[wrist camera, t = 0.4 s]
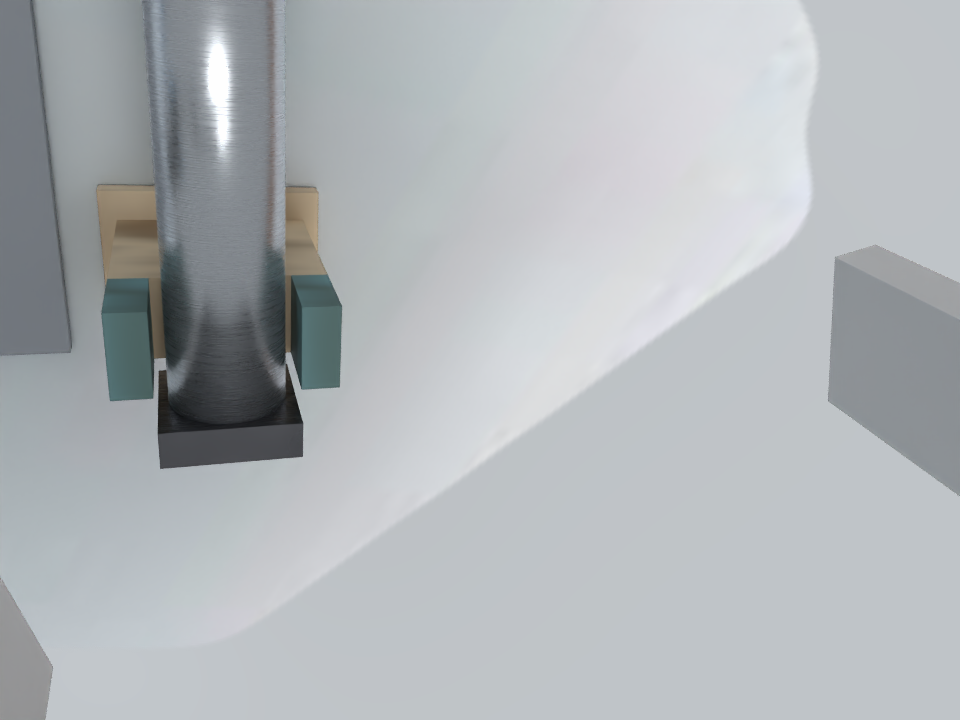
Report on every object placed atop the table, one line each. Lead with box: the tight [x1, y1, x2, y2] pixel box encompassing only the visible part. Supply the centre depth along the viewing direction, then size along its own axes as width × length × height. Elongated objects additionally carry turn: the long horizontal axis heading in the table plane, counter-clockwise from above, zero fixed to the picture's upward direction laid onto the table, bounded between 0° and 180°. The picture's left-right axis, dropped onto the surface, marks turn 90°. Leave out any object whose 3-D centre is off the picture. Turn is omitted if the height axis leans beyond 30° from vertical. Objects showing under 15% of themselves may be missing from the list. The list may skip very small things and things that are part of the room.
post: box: [96, 185, 342, 401], centre depth 30 cm, size 8×5×10 cm, turn 84°
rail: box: [142, 0, 303, 469], centre depth 24 cm, size 20×4×4 cm, turn 174°
